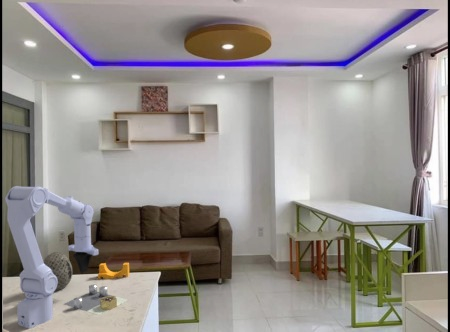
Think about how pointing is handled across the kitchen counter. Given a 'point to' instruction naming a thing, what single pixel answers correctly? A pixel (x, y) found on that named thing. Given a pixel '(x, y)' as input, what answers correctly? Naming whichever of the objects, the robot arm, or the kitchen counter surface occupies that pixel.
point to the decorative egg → (59, 268)
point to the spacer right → (103, 291)
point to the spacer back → (93, 289)
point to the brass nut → (108, 302)
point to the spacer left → (77, 303)
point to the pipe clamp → (109, 274)
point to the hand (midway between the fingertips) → (83, 271)
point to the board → (94, 303)
